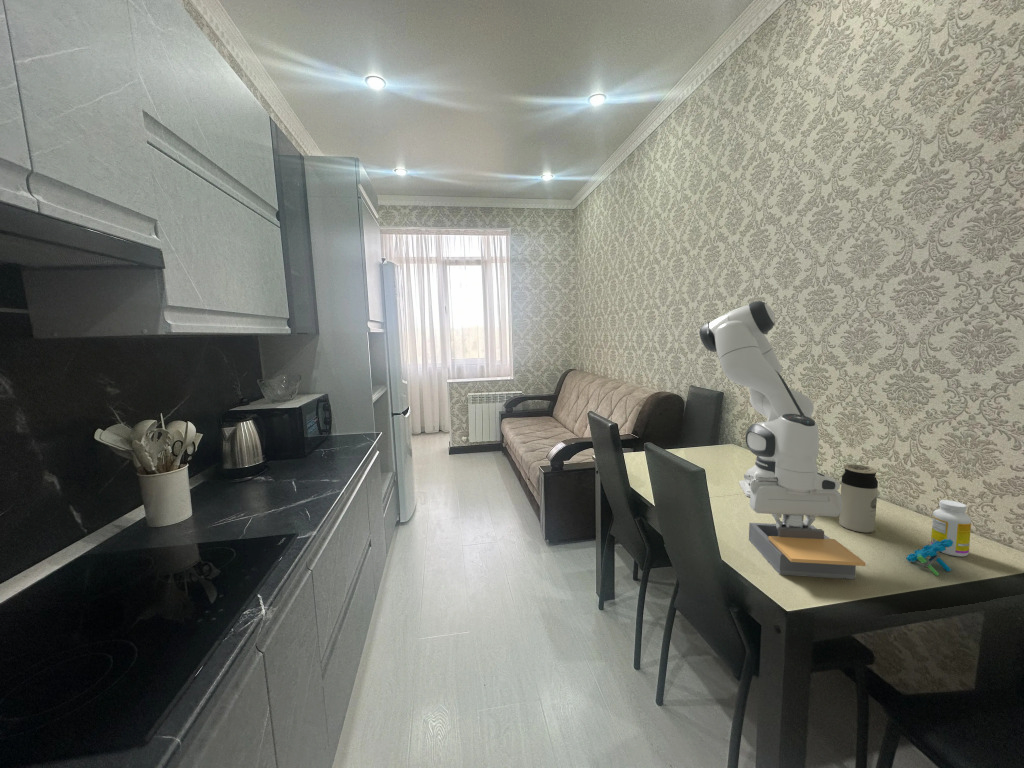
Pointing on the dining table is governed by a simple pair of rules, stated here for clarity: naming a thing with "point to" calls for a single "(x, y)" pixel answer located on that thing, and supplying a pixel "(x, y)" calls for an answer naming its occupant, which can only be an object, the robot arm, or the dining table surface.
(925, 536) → the dining table surface
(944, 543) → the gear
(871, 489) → the travel mug
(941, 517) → the supplement bottle
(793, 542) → the lid
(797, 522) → the silver rounded cylinder
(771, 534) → the housing
